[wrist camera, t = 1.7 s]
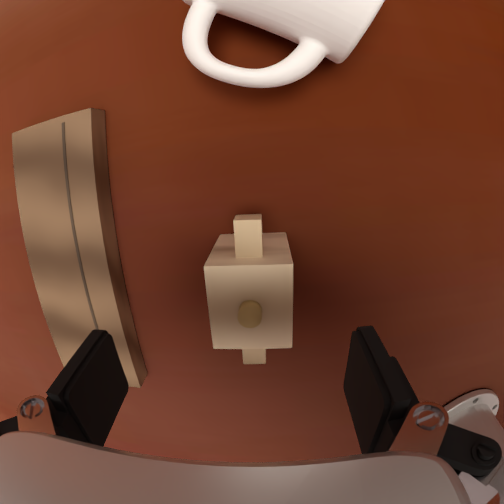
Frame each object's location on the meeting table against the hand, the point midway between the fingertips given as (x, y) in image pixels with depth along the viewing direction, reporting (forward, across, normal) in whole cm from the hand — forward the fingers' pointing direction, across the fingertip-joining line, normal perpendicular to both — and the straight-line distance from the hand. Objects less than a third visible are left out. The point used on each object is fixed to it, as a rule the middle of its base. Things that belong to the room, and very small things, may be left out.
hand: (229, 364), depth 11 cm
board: (+11, +13, 0) cm, 17 cm away
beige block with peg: (+11, -1, +1) cm, 11 cm away
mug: (+12, -3, -16) cm, 20 cm away
